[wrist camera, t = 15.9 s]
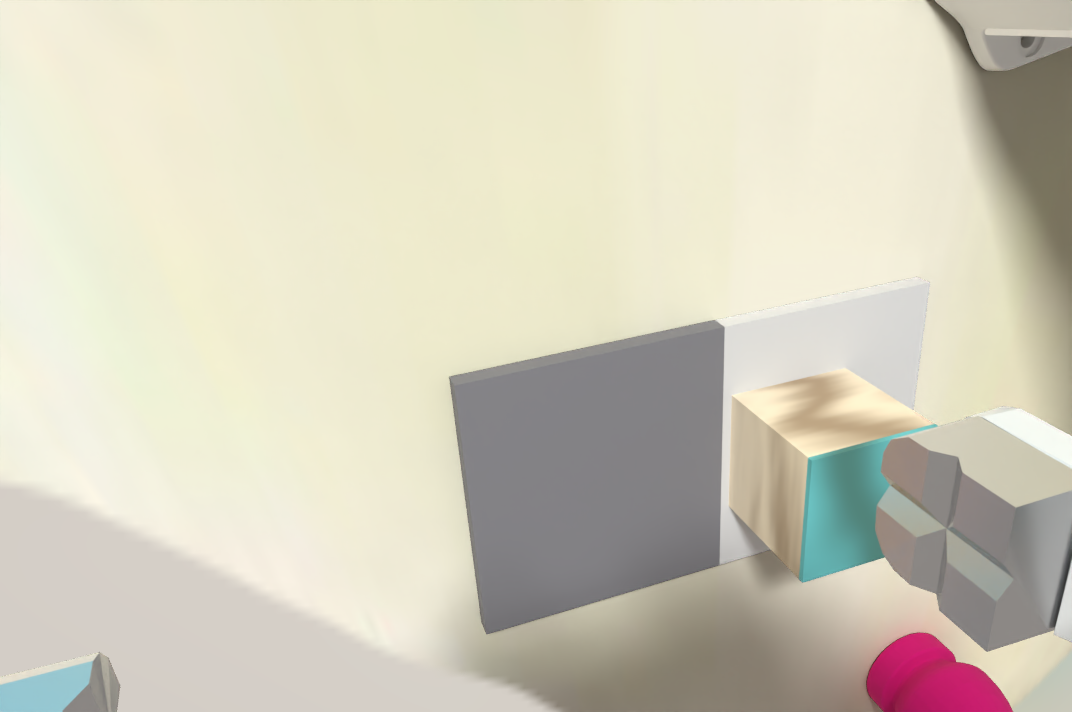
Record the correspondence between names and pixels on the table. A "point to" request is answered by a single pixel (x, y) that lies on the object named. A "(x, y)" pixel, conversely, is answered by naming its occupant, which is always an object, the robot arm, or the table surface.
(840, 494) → the beech block
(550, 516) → the mat
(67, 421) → the table surface
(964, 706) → the pepper mill
